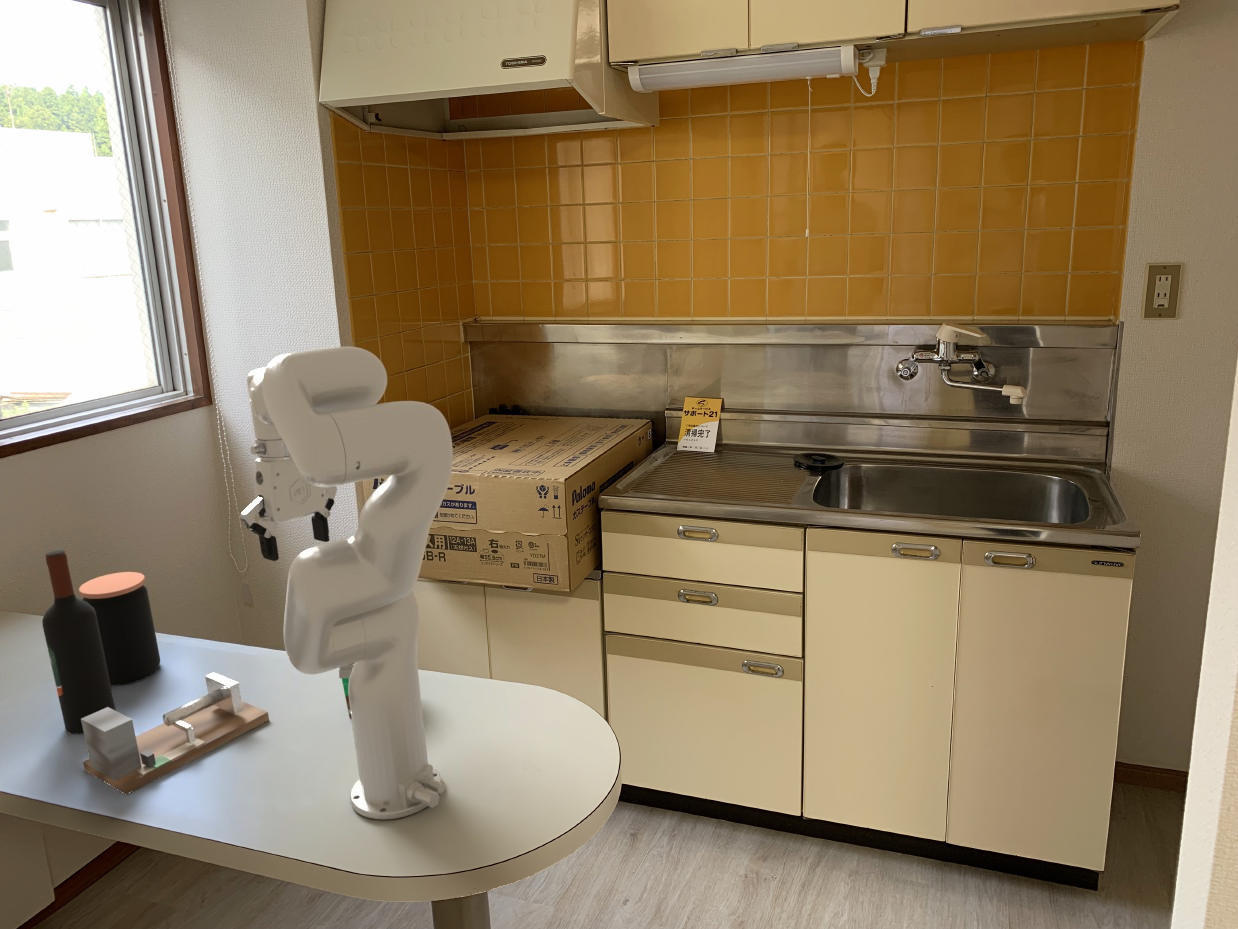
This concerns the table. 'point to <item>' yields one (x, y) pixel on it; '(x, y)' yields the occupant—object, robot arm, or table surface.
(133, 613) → the coffee jar
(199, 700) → the plunger
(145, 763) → the dark grey small block
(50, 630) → the wine bottle
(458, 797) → the table surface
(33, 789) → the table surface
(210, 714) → the gauge board
